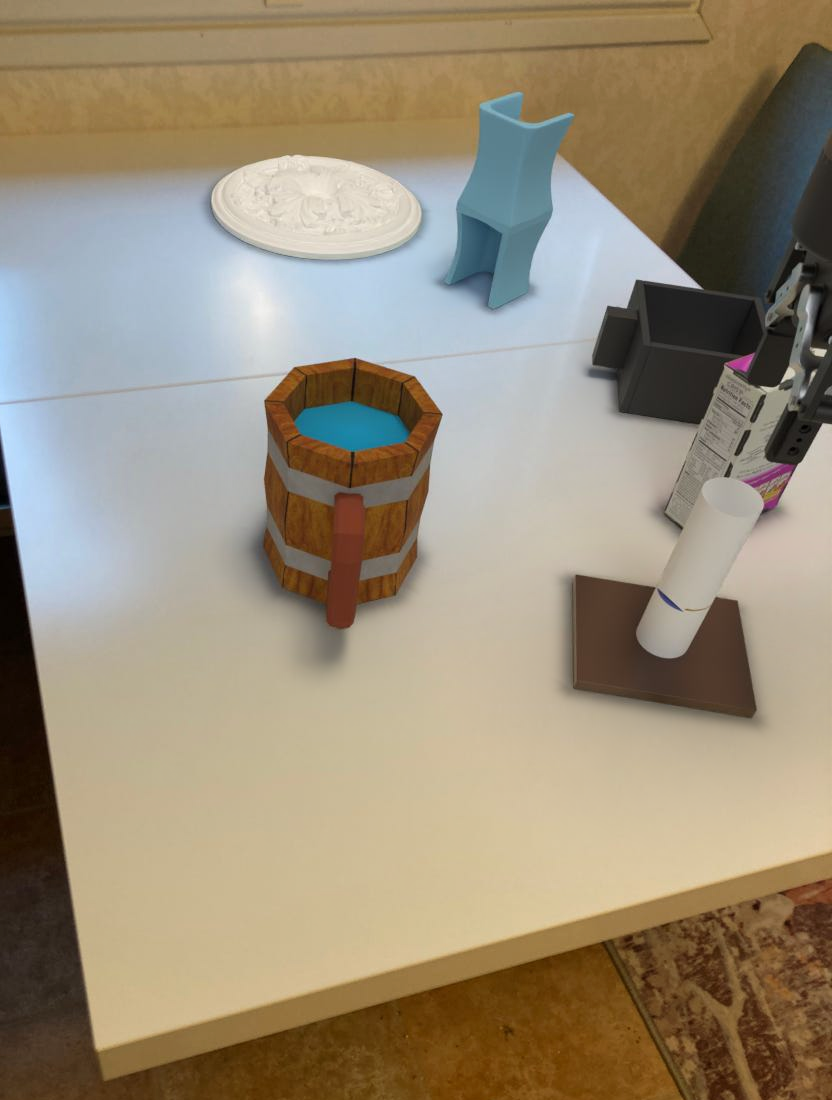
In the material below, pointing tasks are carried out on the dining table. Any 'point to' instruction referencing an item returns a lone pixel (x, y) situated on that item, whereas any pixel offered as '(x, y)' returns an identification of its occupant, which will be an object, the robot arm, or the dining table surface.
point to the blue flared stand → (506, 197)
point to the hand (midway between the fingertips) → (769, 419)
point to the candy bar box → (736, 439)
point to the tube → (698, 565)
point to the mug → (346, 481)
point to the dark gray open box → (675, 346)
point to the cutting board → (631, 671)
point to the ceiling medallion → (316, 208)
